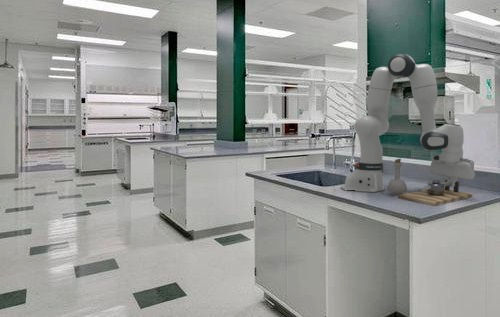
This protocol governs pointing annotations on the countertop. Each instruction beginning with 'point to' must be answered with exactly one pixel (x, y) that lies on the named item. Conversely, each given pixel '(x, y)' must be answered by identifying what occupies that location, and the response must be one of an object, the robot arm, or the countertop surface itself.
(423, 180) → the countertop surface
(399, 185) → the potion bottle
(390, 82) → the robot arm
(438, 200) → the stand
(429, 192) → the capstan
